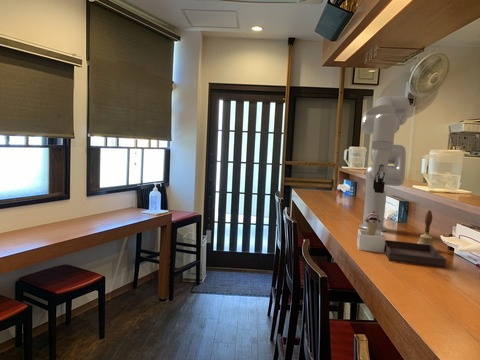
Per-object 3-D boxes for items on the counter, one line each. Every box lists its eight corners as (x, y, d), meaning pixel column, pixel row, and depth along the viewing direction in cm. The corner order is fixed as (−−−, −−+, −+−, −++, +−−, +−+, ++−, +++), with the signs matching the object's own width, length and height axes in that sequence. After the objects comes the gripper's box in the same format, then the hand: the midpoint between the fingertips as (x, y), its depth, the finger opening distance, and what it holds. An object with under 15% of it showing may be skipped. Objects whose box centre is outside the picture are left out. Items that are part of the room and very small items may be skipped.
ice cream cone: (368, 250, 134) (371, 212, 132) (359, 246, 140) (362, 209, 138) (380, 250, 136) (384, 212, 134) (371, 245, 141) (375, 209, 139)
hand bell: (440, 250, 139) (445, 211, 137) (428, 253, 135) (433, 213, 133) (421, 244, 146) (425, 207, 144) (409, 247, 142) (413, 209, 140)
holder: (356, 243, 143) (358, 229, 142) (380, 246, 141) (382, 231, 140) (358, 249, 134) (360, 234, 134) (383, 252, 132) (385, 237, 131)
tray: (381, 246, 140) (382, 239, 140) (430, 252, 136) (431, 245, 135) (389, 260, 123) (389, 252, 123) (445, 267, 118) (446, 259, 118)
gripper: (370, 146, 141) (367, 187, 143) (373, 146, 124) (368, 193, 126) (390, 147, 138) (386, 189, 140) (395, 147, 122) (390, 195, 124)
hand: (378, 191), depth 133 cm, fingers open, 9 cm apart
